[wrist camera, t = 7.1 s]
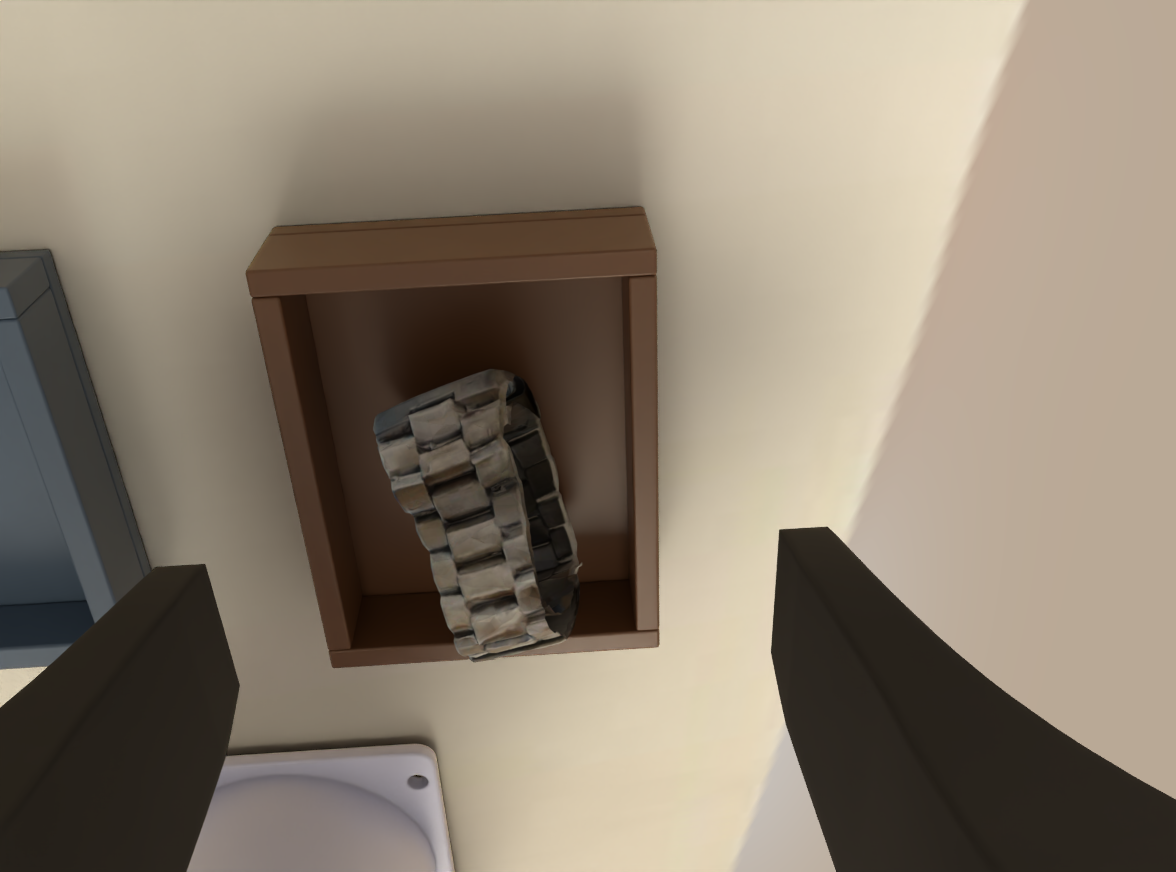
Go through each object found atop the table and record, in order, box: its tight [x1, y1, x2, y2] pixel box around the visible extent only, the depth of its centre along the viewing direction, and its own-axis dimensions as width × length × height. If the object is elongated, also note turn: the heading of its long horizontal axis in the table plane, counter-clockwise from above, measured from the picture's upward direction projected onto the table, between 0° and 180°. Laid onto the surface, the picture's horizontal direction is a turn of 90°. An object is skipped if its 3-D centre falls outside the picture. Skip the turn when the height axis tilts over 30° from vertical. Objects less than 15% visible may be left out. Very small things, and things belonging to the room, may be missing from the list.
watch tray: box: [246, 207, 659, 668], centre depth 21 cm, size 9×7×2 cm
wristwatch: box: [373, 369, 582, 662], centre depth 20 cm, size 3×5×5 cm
